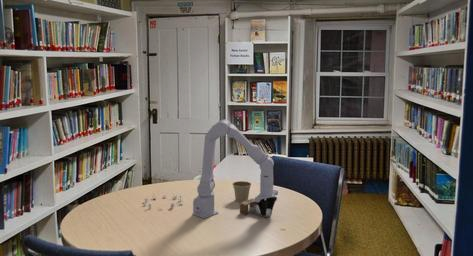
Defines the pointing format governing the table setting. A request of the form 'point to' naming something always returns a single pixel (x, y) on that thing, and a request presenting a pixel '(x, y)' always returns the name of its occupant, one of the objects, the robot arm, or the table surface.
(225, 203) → the table surface
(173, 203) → the game piece set
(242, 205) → the brown wooden u-shaped block
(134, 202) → the table surface
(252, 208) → the grey metal cylinder
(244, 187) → the flower pot
